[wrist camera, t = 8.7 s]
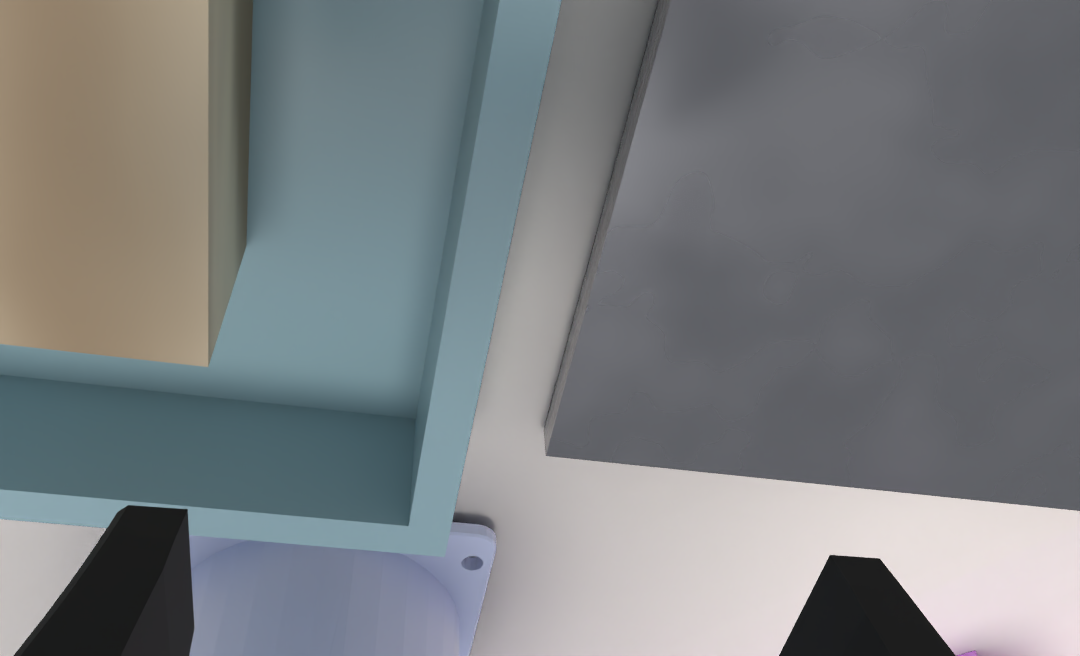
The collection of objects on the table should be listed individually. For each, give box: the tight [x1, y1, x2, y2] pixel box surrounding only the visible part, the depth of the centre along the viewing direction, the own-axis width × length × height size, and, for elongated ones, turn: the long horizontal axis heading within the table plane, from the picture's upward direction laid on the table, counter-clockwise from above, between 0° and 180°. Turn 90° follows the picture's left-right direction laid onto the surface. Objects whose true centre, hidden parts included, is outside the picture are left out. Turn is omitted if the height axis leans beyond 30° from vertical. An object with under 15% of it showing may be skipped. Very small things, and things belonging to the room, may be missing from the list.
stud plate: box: [544, 0, 1080, 511], centre depth 19 cm, size 14×17×3 cm
